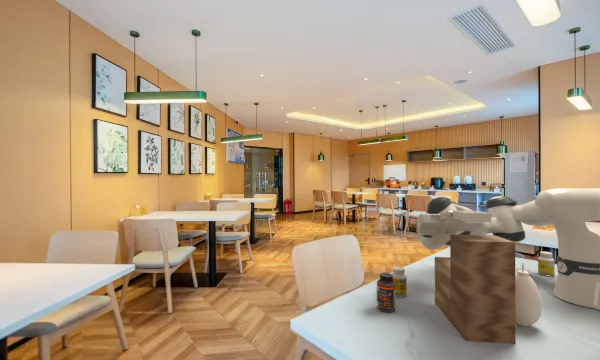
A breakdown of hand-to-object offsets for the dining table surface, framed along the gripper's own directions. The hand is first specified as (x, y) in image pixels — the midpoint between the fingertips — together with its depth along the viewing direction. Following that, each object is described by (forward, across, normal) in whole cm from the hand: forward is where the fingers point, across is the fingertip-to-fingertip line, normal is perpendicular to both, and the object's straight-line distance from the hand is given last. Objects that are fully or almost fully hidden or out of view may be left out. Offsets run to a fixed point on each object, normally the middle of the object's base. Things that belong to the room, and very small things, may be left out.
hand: (457, 213), depth 87 cm
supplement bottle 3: (-50, -54, -8) cm, 74 cm away
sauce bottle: (-10, -15, -31) cm, 36 cm away
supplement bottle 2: (-25, +16, -22) cm, 37 cm away
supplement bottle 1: (-15, +23, -28) cm, 39 cm away
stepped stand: (-10, 0, -30) cm, 32 cm away
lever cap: (+3, 0, -3) cm, 4 cm away
